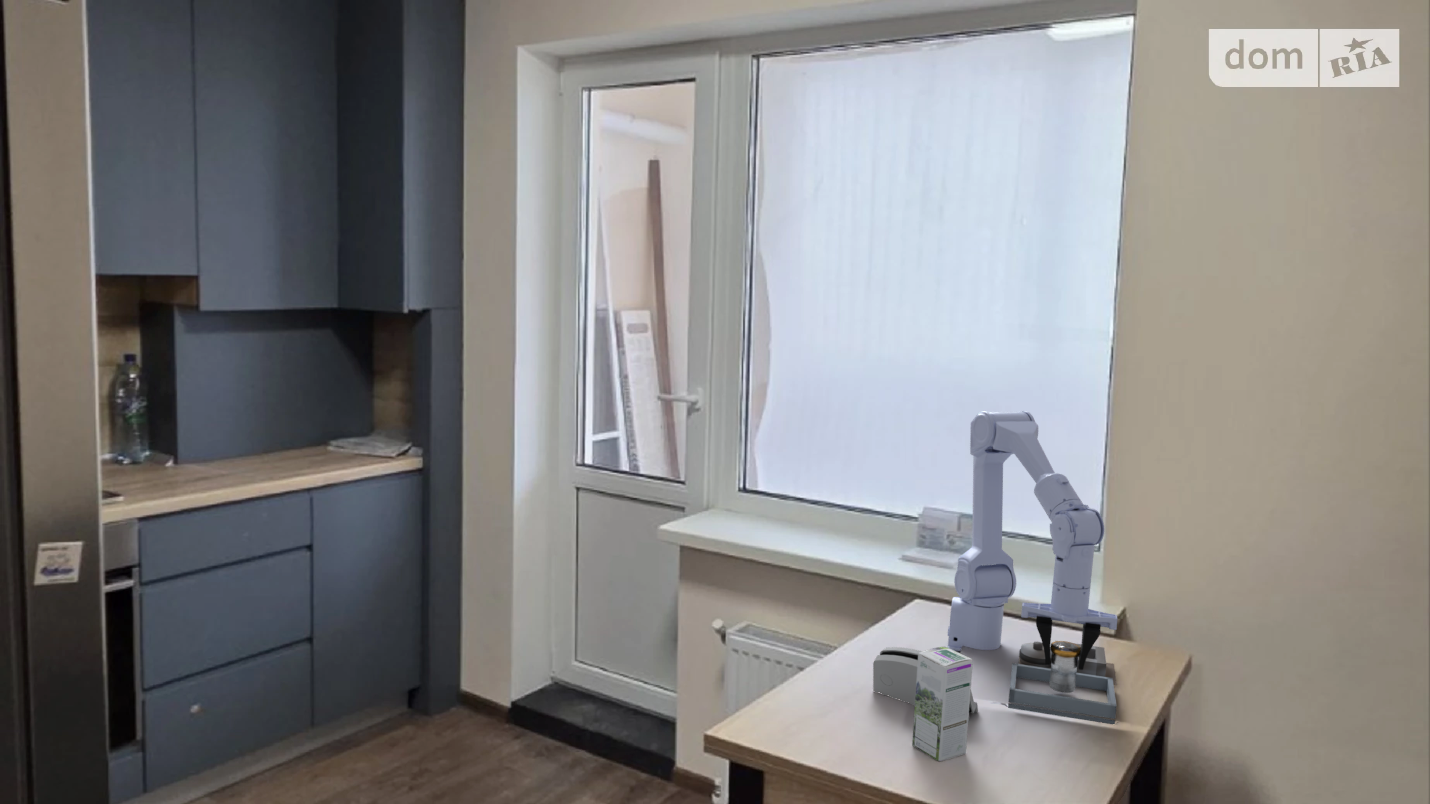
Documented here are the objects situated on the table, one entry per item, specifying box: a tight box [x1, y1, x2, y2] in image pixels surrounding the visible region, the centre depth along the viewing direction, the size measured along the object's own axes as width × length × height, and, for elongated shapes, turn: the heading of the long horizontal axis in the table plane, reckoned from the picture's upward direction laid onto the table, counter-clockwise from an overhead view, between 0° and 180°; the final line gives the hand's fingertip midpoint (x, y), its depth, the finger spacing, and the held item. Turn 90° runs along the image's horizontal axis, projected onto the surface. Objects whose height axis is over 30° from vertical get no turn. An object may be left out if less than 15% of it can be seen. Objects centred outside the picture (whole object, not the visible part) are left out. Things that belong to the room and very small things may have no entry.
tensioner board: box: [1017, 641, 1118, 686], centre depth 188 cm, size 16×10×4 cm, turn 73°
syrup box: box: [911, 646, 974, 762], centre depth 155 cm, size 6×6×14 cm
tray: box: [1007, 662, 1118, 725], centre depth 175 cm, size 16×12×3 cm
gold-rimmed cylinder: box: [1049, 640, 1081, 694], centre depth 175 cm, size 5×5×7 cm
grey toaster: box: [872, 646, 979, 721], centre depth 171 cm, size 17×5×10 cm, turn 51°
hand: (1063, 665), depth 175 cm, fingers closed on gold-rimmed cylinder, 4 cm apart
